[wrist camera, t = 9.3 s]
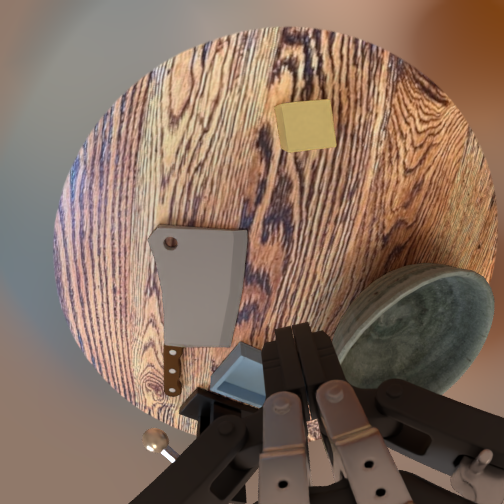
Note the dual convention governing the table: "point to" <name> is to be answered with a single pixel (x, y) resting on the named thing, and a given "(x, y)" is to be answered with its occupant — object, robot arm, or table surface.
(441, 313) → the bowl
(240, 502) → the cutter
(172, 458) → the cutter lever
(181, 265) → the kitchen cleaver
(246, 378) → the butter dish
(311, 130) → the butter pat
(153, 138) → the table surface
